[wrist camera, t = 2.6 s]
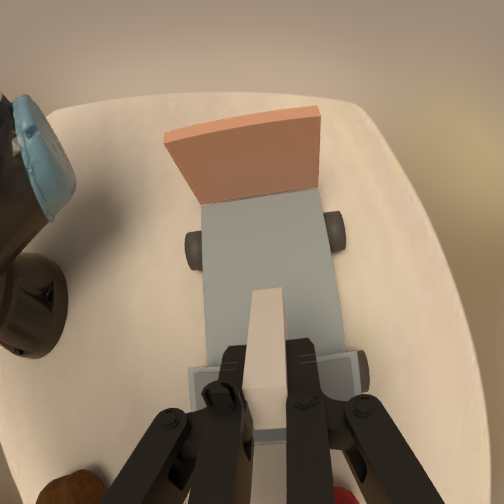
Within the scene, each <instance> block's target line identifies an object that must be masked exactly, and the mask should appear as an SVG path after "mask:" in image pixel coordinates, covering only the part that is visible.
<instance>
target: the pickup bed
mask: <svg viewBox="0 0 504 504" xmlns="http://www.w3.org/2000/svg"><path fill="white" fill-rule="evenodd" d="M201 223H202V231H195V232H189V233H187V234H186V237H185V254H186V258H187V262H188V265H189V267H190V268H191V269H192V270H201V269H203V291H204V312H205V331H206V347H207V361H208V367H196V368H188V374H189V388H190V400H191V411H192V412H194V411H198V410H201V409H203V408H205V407H207V406H206V404H205V402H204V399H203V397H202V395H201V392H202V390H203V388H204V387H205V386H206V385H208V384H209V383H211V382H213V381H216V380H218V377H219V371H220V366H221V361H222V356H223V353H224V352H225V350H226V349H227V348H228V346H234V345H247V338H248V329H249V320H250V311H251V301H252V292H253V290H262V289H271V288H279V287H282V292H283V300H284V307H285V315H286V323H287V332H288V340H291V339H300V338H309V339H310V340H311V342H312V343H313V344H314V347H315V354H316V360H317V367H318V373H319V380H320V387H321V390H322V392H323V393H324V394H325V395H326V396H327V397H329V398H331V399H334V400H339V401H349V399H351V398H352V397H354V396H356V395H361V394H362V393H363V392H367V391H368V390H369V383H370V377H369V367H368V362H367V358H366V355H365V353H364V351H363V350H360V351H357V350H356V351H350V352H346V346H345V339H344V331H343V324H342V317H341V310H340V304H339V297H338V291H337V285H336V279H335V273H334V267H333V262H332V256H331V252H334V251H341V250H345V247H346V234H345V227H344V222H343V218H342V215H341V213H340V211H334V212H326V213H323V211H322V206H321V202H320V197H319V193H318V189H312V190H305V191H297V192H290V193H283V194H276V195H269V196H262V197H255V198H249V199H242V200H236V201H230V202H224V203H218V204H212V205H206V206H201ZM252 434H253V438H254V445H264V444H279V443H286V428H277V429H260V430H255V429H254V426H253V430H252Z"/></svg>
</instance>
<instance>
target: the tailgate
mask: <svg viewBox="0 0 504 504" xmlns="http://www.w3.org/2000/svg"><path fill="white" fill-rule="evenodd" d="M320 124H321V115H320V112H319V110H318V107H317V106H309V107H300V108H291V109H283V110H276V111H269V112H262V113H256V114H250V115H244V116H238V117H233V118H227V119H222V120H217V121H212V122H207V123H203V124H198V125H194V126H190V127H185V128H181V129H177V130H173V131H169V132H165V136H164V145H165V147H166V148H167V150H168V152H169V153H170V155H171V157H172V158H173V160H174V162H175V163H176V165H177V167H178V168H179V170H180V172H181V173H182V175H183V177H184V178H185V180H186V181H187V183H188V185H189V186H190V188H191V190H192V191H193V193H194V195H195V196H196V198H197V200H198V201H199V203H200V204H201V205H204V204H209V203H215V202H221V201H227V200H233V199H239V198H246V197H252V196H259V195H265V194H272V193H279V192H286V191H293V190H301V189H309V188H316V187H318V174H319V153H320Z"/></svg>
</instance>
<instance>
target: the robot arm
mask: <svg viewBox="0 0 504 504" xmlns="http://www.w3.org/2000/svg"><path fill="white" fill-rule="evenodd" d="M75 188H76V179H75V175H74V172H73V169H72V166H71V164H70V162H69V160H68V158H67V156H66V153H65V151H64V149H63V147H62V146H61V144H60V142H59V140H58V138H57V136H56V135H55V133H54V131H53V129H52V128H51V126H50V124H49V122H48V121H47V119H46V118H45V116H44V114H43V113H42V111H41V110H40V108H39V107H38V105H37V104H36V103H35V102H34V101H33V100H32V99H31V97H30V96H29V95H27V94H23V95H21V96H20V97H16V98H15V99H14V100H13V103H11V102H9V101H8V99H7V98H6V97H5V96H4V95H3V94H2V93H1V92H0V345H1V346H2V347H4V348H5V349H7V350H8V351H10V352H11V353H13V354H15V355H17V356H20V357H24V358H30V359H37V358H40V357H43V356H44V355H46V354H47V353H48V352H49V351H50V350H51V349H52V348H53V347H54V345H55V344H56V342H57V340H58V339H59V337H60V334H61V332H62V329H63V326H64V322H65V318H66V311H67V289H66V283H65V279H64V276H63V274H62V272H61V270H60V268H59V267H58V266H57V264H56V263H54V262H53V261H52V260H50V259H48V258H46V257H44V256H42V255H40V254H36V253H23V252H21V251H22V250H23V249H24V248H25V247H26V246H27V245H28V243H29V242H30V241H31V240H32V239H33V238H34V237H35V236H36V235H37V234H38V233H39V231H40V230H41V229H42V228H43V227H44V226H45V225H46V224H47V223H48V222H52V221H53V220H54V218H55V215H56V214H57V213H58V212H59V211H60V210H61V208H62V207H63V206H64V205H65V204H66V203H67V202H68V201H69V200H70V199H71V198H72V196H73V194H74V192H75ZM201 395H202V397H203V399H204V402H205V404H206V406H207V407H205V408H203V409H201V410H198V411H194V412H190V413H186V414H185V413H184V411H183V410H180V409H178V408H169V409H165V410H163V411H161V412H160V413H159V414H158V415H157V416H156V417H155V419H154V420H153V422H152V423H151V425H150V426H149V428H148V429H147V431H146V433H145V434H144V436H143V437H142V439H141V440H140V442H139V443H138V445H137V447H136V448H135V450H134V451H133V453H132V454H131V456H130V457H129V459H128V460H127V462H126V464H125V465H124V467H123V468H122V470H121V471H120V473H119V474H118V476H117V477H116V479H115V481H114V482H113V484H112V485H111V487H110V488H109V490H108V491H107V493H106V494H105V496H104V497H103V499H102V500H101V502H100V504H183V503H184V501H185V499H186V497H187V495H188V493H189V491H190V495H189V501H188V504H250V497H251V483H252V468H253V453H254V438H253V434H252V430H253V426H254V429H255V430H260V429H277V428H286V451H287V504H335V498H334V487H333V476H332V467H331V457H330V449H337V450H342V452H343V454H344V456H345V458H346V460H347V463H348V465H349V467H350V469H351V471H352V473H353V475H354V477H355V480H356V482H357V484H358V486H359V488H360V490H361V492H362V494H363V497H364V499H365V501H366V503H367V504H445V503H444V501H443V500H442V498H441V496H440V495H439V493H438V492H437V490H436V488H435V487H434V485H433V483H432V482H431V480H430V479H429V477H428V475H427V474H426V472H425V470H424V469H423V467H422V466H421V464H420V462H419V461H418V459H417V458H416V456H415V455H414V453H413V451H412V450H411V448H410V447H409V445H408V443H407V442H406V440H405V439H404V437H403V436H402V434H401V432H400V431H399V429H398V428H397V426H396V425H395V423H394V422H393V420H392V418H391V417H390V415H389V414H388V412H387V411H386V409H385V408H384V406H383V405H382V403H381V402H380V401H379V400H378V399H377V398H376V397H374V396H372V395H369V394H361V395H356V396H354V397H352V398H351V399H349V401H339V400H334V399H331V398H329V397H327V396H326V395H325V394H324V393H323V392H322V390H321V387H320V380H319V373H318V367H317V360H316V354H315V347H314V344H313V343H312V342H311V340H310V339H309V338H300V339H291V340H288V332H287V323H286V315H285V307H284V300H283V292H282V287H279V288H271V289H262V290H253V292H252V301H251V311H250V320H249V329H248V338H247V345H234V346H228V348H227V349H226V350H225V352H224V353H223V356H222V361H221V366H220V371H219V377H218V380H216V381H213V382H211V383H209V384H208V385H206V386H205V387H204V388H203V390H202V392H201ZM190 489H191V490H190Z"/></svg>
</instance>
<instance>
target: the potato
mask: <svg viewBox="0 0 504 504" xmlns="http://www.w3.org/2000/svg"><path fill="white" fill-rule="evenodd" d="M105 494H106V491H105V488H104V486H103V484H102V483H101V481H100V480H99V479H98V478H97V477H96V476H95V475H94V474H92V473H91V472H90V471H87V470H84V469H83V470H79V471H76V472H74V473H72V474H71V475H67V476H63V477H61V478H58V479H54V480H53V481H51V482H50V483H49V484H48V485H47V486H46V487H45V488H44V489H43V490H42V491H41V492H40V494H39V496H38V499H37V501H36V504H100V502H101V500H102V499H103V497H104V496H105Z"/></svg>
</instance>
